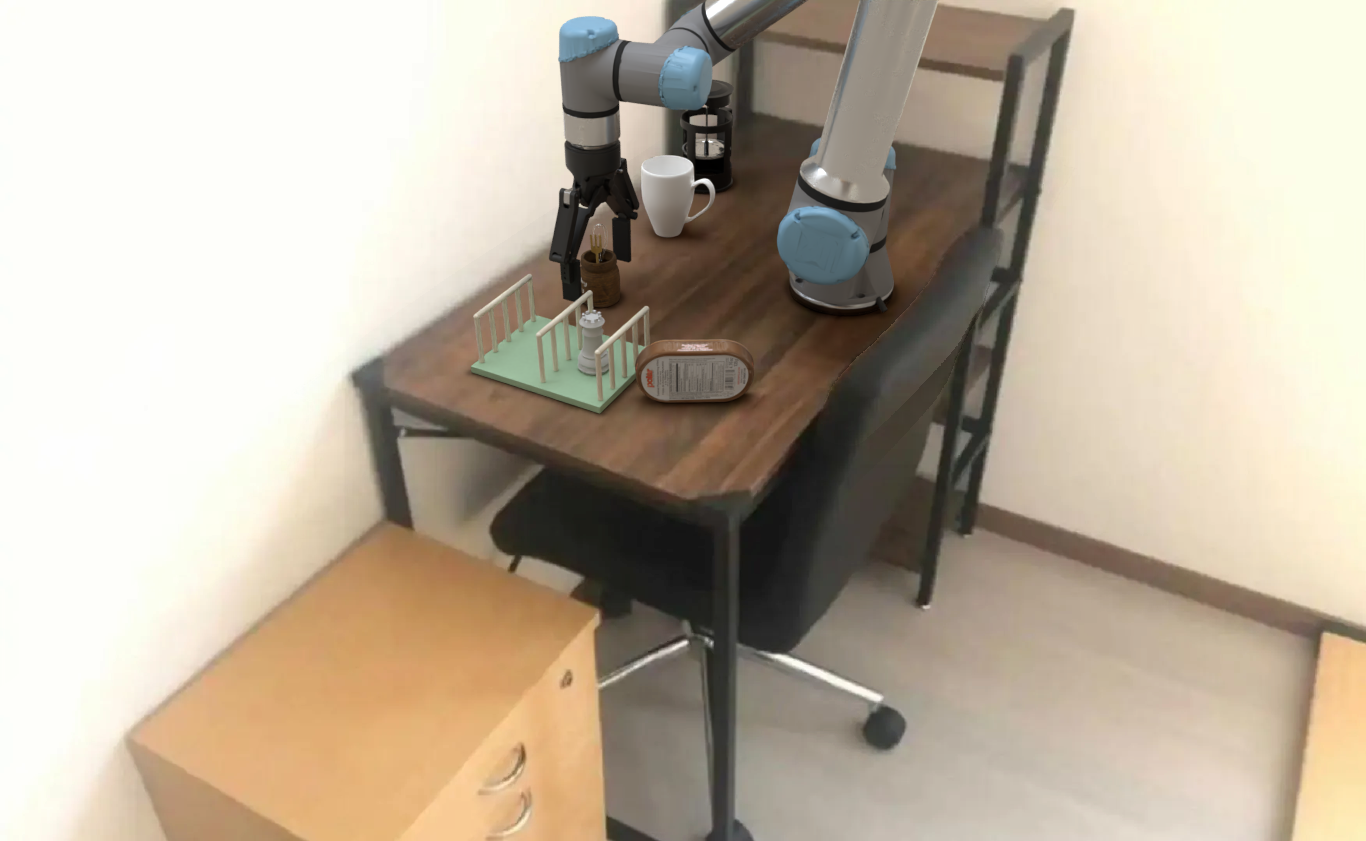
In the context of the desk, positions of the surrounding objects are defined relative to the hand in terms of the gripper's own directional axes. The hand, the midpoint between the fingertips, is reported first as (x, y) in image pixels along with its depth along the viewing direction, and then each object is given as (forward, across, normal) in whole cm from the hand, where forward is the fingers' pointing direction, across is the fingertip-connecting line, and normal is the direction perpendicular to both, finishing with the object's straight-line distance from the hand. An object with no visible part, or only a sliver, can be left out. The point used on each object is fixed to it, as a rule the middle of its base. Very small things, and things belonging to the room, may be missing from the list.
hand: (598, 279), depth 162 cm
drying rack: (+3, +17, +5) cm, 18 cm away
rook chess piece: (+2, +17, +10) cm, 20 cm away
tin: (+3, +16, +24) cm, 29 cm away
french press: (+3, -44, -5) cm, 44 cm away
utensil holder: (+3, 0, 0) cm, 3 cm away
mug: (+3, -24, 0) cm, 24 cm away
